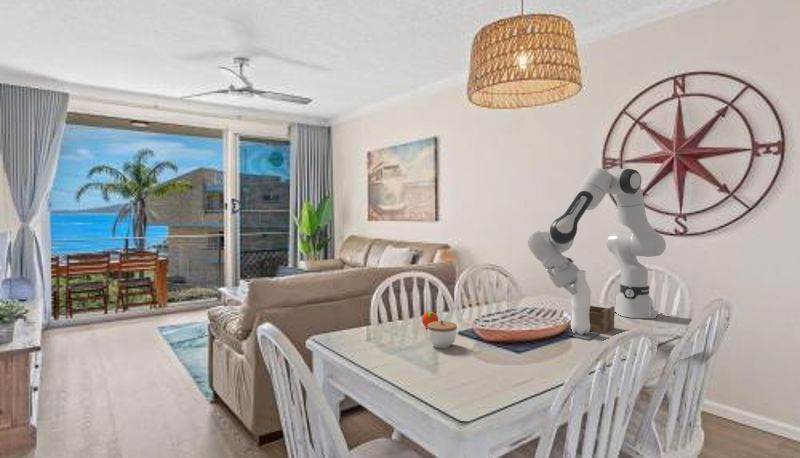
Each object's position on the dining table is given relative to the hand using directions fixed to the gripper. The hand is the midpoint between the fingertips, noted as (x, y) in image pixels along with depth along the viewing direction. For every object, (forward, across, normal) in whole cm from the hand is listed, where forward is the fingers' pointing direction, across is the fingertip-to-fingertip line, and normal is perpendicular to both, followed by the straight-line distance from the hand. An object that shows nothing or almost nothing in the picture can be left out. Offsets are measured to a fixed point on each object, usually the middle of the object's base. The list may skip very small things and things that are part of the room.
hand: (580, 292), depth 179 cm
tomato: (-22, -34, +47) cm, 62 cm away
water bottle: (+12, 0, +12) cm, 17 cm away
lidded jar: (-9, -50, +33) cm, 60 cm away
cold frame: (+12, +14, +12) cm, 22 cm away
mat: (+12, 0, +12) cm, 17 cm away
